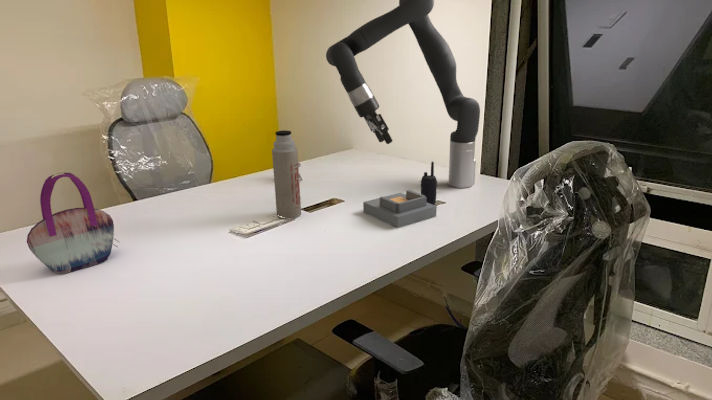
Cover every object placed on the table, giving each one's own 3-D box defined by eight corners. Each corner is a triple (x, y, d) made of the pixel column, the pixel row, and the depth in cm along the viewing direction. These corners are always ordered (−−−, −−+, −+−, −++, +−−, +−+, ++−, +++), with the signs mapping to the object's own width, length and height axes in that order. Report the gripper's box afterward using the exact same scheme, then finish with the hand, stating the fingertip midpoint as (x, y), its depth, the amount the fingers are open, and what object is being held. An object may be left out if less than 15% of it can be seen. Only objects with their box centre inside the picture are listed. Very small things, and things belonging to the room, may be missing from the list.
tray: (400, 201, 179) (400, 184, 177) (436, 216, 165) (436, 197, 163) (363, 211, 171) (363, 193, 169) (398, 227, 157) (398, 207, 155)
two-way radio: (435, 202, 179) (436, 160, 174) (437, 206, 174) (439, 163, 170) (419, 202, 178) (420, 160, 174) (421, 206, 174) (422, 164, 169)
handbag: (115, 245, 148) (99, 162, 140) (127, 256, 141) (111, 169, 133) (31, 269, 135) (8, 178, 127) (39, 282, 128) (15, 186, 120)
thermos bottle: (306, 213, 170) (301, 130, 161) (289, 221, 164) (283, 134, 155) (288, 209, 175) (283, 127, 166) (271, 216, 169) (265, 132, 160)
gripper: (378, 93, 163) (402, 137, 167) (367, 94, 176) (389, 135, 181) (358, 105, 162) (382, 149, 166) (348, 105, 176) (371, 146, 180)
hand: (386, 142), depth 174 cm, fingers open, 8 cm apart
